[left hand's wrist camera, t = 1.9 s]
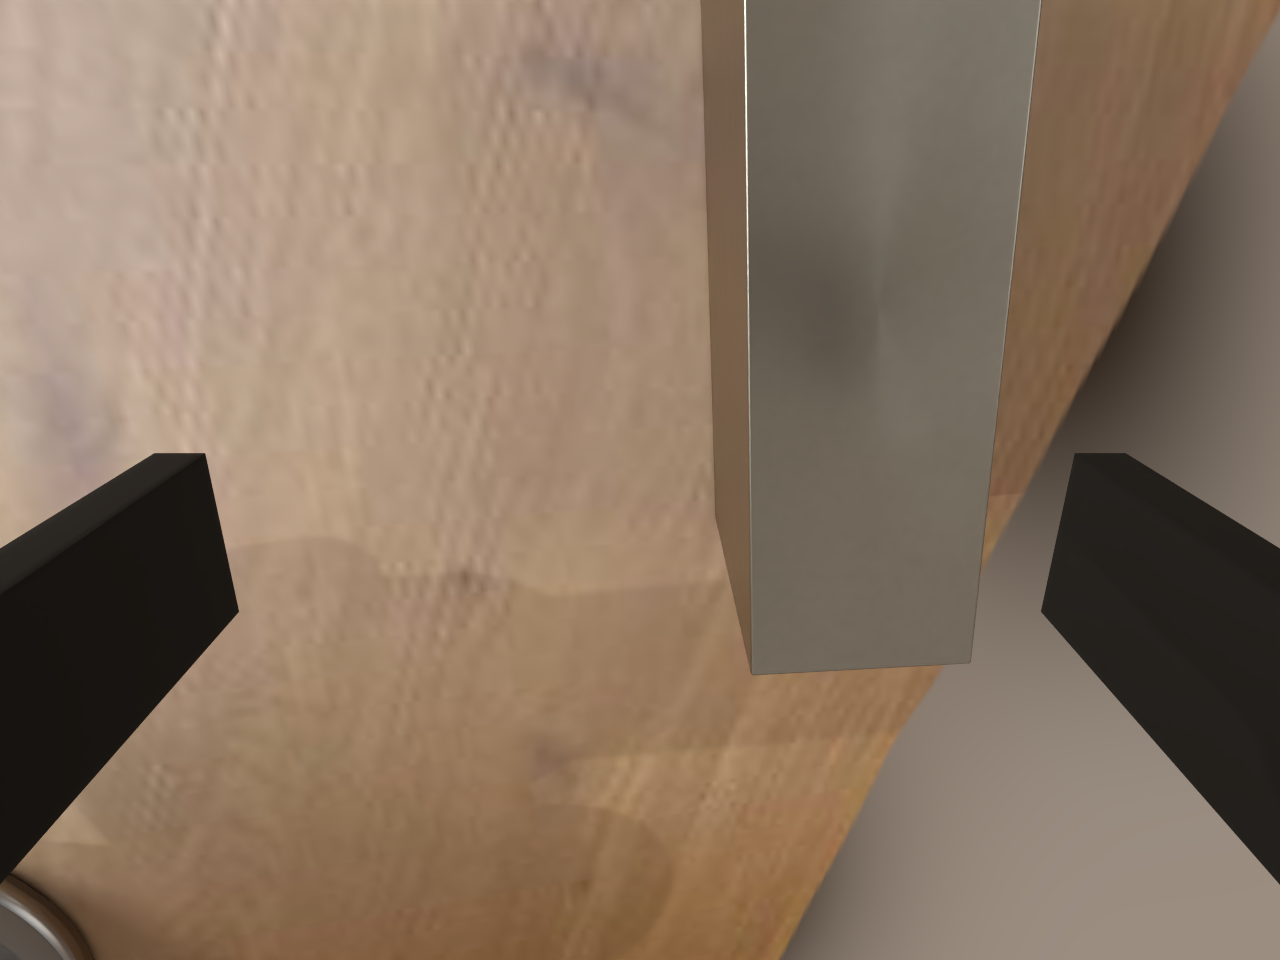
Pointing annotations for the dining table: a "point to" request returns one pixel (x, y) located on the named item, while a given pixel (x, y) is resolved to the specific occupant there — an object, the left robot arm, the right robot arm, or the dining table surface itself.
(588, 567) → the dining table surface
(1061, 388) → the dining table surface
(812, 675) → the dining table surface
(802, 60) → the box
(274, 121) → the dining table surface
